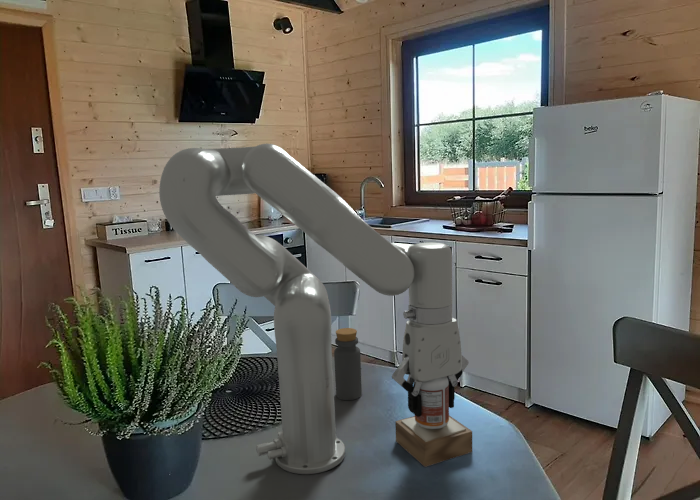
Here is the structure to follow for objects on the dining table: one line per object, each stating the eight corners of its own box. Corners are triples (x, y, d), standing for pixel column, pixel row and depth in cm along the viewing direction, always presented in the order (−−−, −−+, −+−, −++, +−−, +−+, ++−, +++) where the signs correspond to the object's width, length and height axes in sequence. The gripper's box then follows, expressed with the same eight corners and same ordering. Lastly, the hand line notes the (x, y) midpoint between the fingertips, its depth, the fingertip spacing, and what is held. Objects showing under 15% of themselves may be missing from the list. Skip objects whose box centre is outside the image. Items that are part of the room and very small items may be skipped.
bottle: (333, 391, 127) (330, 329, 124) (357, 387, 128) (354, 325, 126) (340, 402, 121) (337, 336, 119) (365, 397, 123) (363, 333, 120)
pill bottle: (430, 411, 105) (430, 355, 103) (456, 422, 100) (456, 364, 98) (407, 421, 101) (406, 363, 99) (432, 433, 96) (432, 373, 94)
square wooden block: (424, 466, 95) (424, 443, 94) (395, 441, 104) (395, 419, 103) (472, 452, 99) (472, 429, 98) (440, 428, 108) (440, 407, 107)
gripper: (398, 326, 90) (400, 429, 93) (483, 311, 97) (483, 406, 100) (377, 315, 97) (379, 411, 100) (458, 301, 104) (458, 391, 107)
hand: (431, 408), depth 100 cm, fingers closed on pill bottle, 6 cm apart
